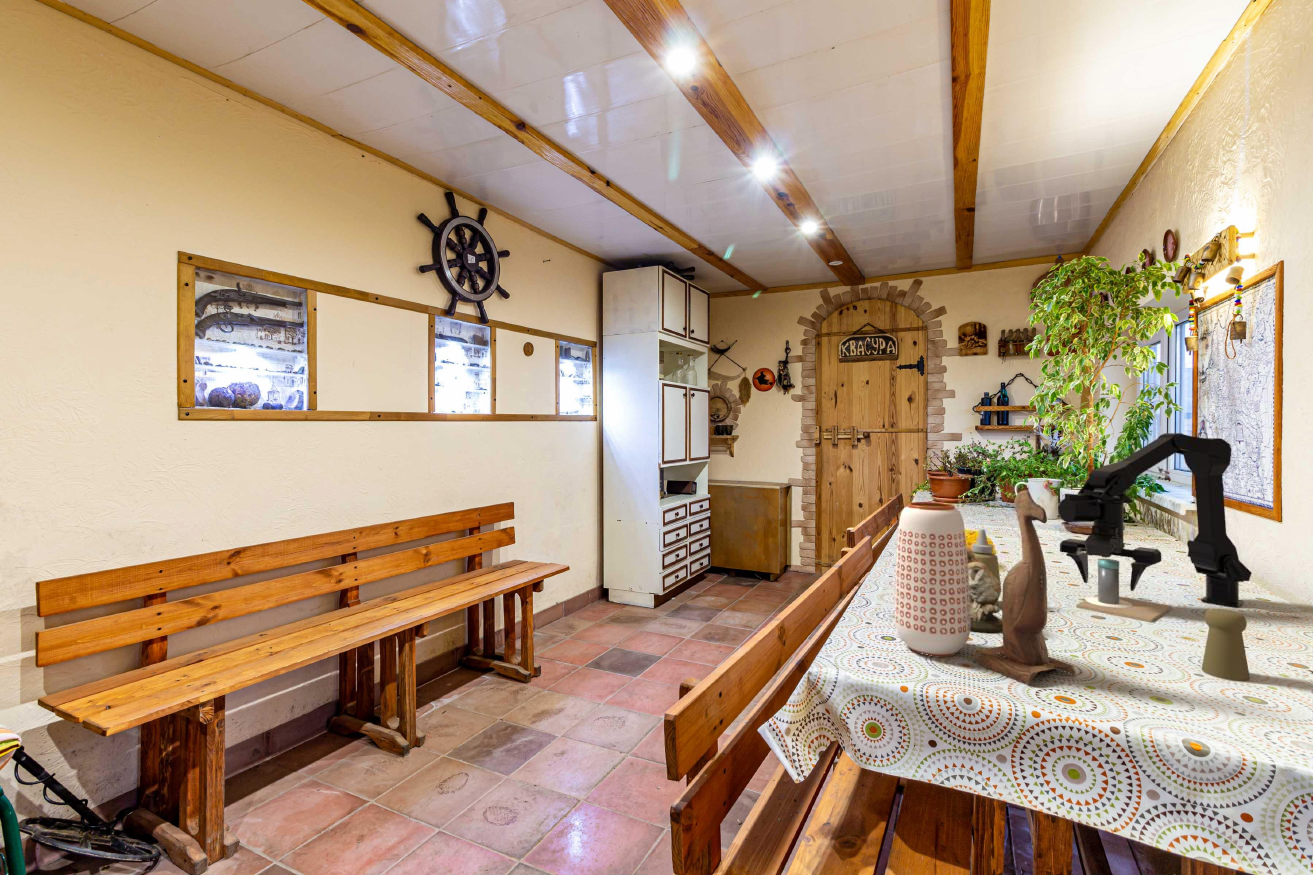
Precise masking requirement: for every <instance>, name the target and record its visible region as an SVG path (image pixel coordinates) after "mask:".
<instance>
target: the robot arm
mask: <svg viewBox="0 0 1313 875" xmlns="http://www.w3.org/2000/svg"><path fill="white" fill-rule="evenodd" d="M1231 447H1232V446H1231V444H1230V443H1229V442H1228V441H1226V440H1225V439H1223V438H1218V437H1215V438H1213V437H1210V438H1209V437H1208V438H1207V437H1198V436H1192V435H1187V434H1184V433H1178V432H1175V433H1173V432H1172V433H1171V432H1170V433H1168V432H1167V433H1162V434H1160V435H1159V436H1158V437H1157V438H1156V439H1154V440H1153V441H1151V442H1149V443H1148V444H1145V446H1143V447H1142V448H1140V449H1138V450H1136V451H1135V452H1134V453H1132V454H1130V455H1128V456H1127V457H1125V458H1123V459H1121V460H1119V461H1117V462H1115V463H1113V462H1112V463H1110V464H1106V465H1103V466H1100V467H1098V468H1095V469H1093V470H1092V471H1091V472H1089V474H1088V478H1087V480H1086V481H1085V483H1084V484H1083V486H1082V487H1081V488H1080V489H1079V491H1078V492H1077V493H1075V494H1074V493H1064V498H1063V499H1062V500H1061V501H1060V503H1059V505H1058V507H1057V509H1058V510H1057V511H1058V515H1059V518H1061V520H1062V521H1063V522H1065V523H1093V525H1091V532H1090V534H1089V535H1088V537H1087V538H1086V539H1085V540H1084V539H1078V538H1077V539H1076V538H1067V539H1064V540H1061V541H1060V543H1059V552H1060V553H1065V555H1066V557H1070V558H1071V559H1072V560H1073V561H1074V563H1075V565H1076V567H1077V568H1078V571H1079V574H1080V575H1081V578H1082V581H1083V583H1084V584H1087V583H1088V581H1089V556H1095V557H1096V556H1098V557H1101V558H1104V559H1108V558H1110V557H1112V556H1117V557H1122V558H1123V557H1124V558H1132V560H1134V561H1132V562H1131V563H1130V566H1131V576H1130V586H1129V587H1130V588H1129V589H1130V591H1131V592H1134V591H1135V590H1136V587H1137V585H1138V583H1139V581H1140V578H1141V577H1142V575H1143V573H1144V571H1146V569H1147V568H1149V567H1151V566H1153V565H1157V564H1158V563H1162V552H1161V551H1160V550H1159V549H1158V548H1150V547H1142V546H1139V547H1136V548H1134V549H1129V548H1126V544H1125V542H1124V531H1125V530H1126V527H1125V525H1124V504H1132V503H1133V501H1134V500H1133V499H1132V498H1130V497H1128V496H1127V495H1126V492H1127V491H1128V490H1129V489H1130V488H1131V487H1133V485H1135V483H1136V481H1137V479H1138V477H1139V476H1140V475H1142V474H1143V473H1146V471H1148V470H1150V469H1152V468H1153V467H1155V466H1156V465H1158V464H1159V463H1161V462H1163V461H1165V460H1166V459H1168V458H1169V457H1171V456H1173V455H1174V454H1178V455H1183V460H1184V463H1185V465H1186V466H1187V467H1188V469H1189V470H1190V472H1192V474H1193V477H1194V490H1195V491H1194V492H1195V504H1196V518H1197V519H1196V520H1197V531H1198V532H1197V535H1196V536H1195V537H1194V539H1193V540H1191V539H1188V540H1187V543H1186V544H1187V549H1188V552H1187V556H1186V557H1188V558H1189V559H1190V562H1191V563H1192V564H1193V566H1194V569H1195V572H1196V573H1197V574H1201V575H1205V596H1204V597H1202V598H1201V599H1200V601H1201V602H1203V603H1204V602H1205V603H1210V604H1216V605H1222V606H1227V607H1233V608H1239V607H1240V606H1241V605H1242V604H1244V600H1240V592H1239V591H1240V590H1239V588H1240V585H1239V584H1240V583H1244V582H1249V581H1250V579H1251V577H1252V571H1251V570H1249V568H1248V567H1247V566H1245V565H1244V564H1243V562H1242V561H1240V560H1239V559H1240V558H1239V555H1238V550H1237V547H1236V545H1235V544H1234V543H1233V541H1232V540H1231V539H1230V538H1229V536H1228V535H1227V528H1226V527H1227V523H1226V510H1225V509H1226V508H1225V495H1224V481H1223V475H1224V473H1225V472H1226V471H1227V469H1228V468H1229V466H1230V465H1231V458H1232V448H1231Z"/></svg>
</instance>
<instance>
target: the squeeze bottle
mask: <svg viewBox="0 0 1313 875" xmlns="http://www.w3.org/2000/svg"><path fill="white" fill-rule="evenodd" d="M971 550H972V551H973V553H974V556H975V558H976V559H978V560H979V561H980V562H981V563H983V564H985V565H986V566H987V567H988V569H989V571H990V572H991V573H992V574H993V576H994V577H996V578H997V579H998V581H999V582H1000V584H999V586H1000V594H999V596H998V599H997V601H996V603H995V604H994V605H996V606H997V604H998V602H999V598H1000V597H1001V595H1002V594H1001V593H1002V586H1001V584H1002V583H1001V575H1000V567H999V558H998V556H997V555H996V554H995V553H994V545H993V544H989V541H988V538H987V533H986V529H979V530H978V535H977V539H976V542H975V543H974V542H973V543H972V544H971Z"/></svg>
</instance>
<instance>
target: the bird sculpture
mask: <svg viewBox="0 0 1313 875" xmlns="http://www.w3.org/2000/svg"><path fill="white" fill-rule="evenodd" d="M1013 507H1014V509H1015V512H1016V517H1017V521H1018V525H1019V531H1020V537H1021V553H1022V554H1021V555H1022V559H1021V560H1019V561H1018V562H1017V563H1015V565H1013V566H1012V567H1011V568H1010V570H1008V573H1007V574H1006V576H1005V577H1004V580H1003V583H1002V596H1001V597H1002V599H1001V600H1002V602H1001V619H1002V620H1001V621H1002V624H1003V631H1002V645H1001V646H993V647H988V648H983V649H977V650H975V651H974V653H973V654H972V655H973V656H972V657H973V658H974V659H973V664H975V663H977V665H978V664H979V665H982V666H983V667H985V668H986V669H991V670H992V671H993V670H994V671H993V672H996V673H998V674H1001V675H1003V676H1005V677H1008V678H1010V679H1012V680H1015V681H1018V682H1020V683H1023V684H1026V685H1027V686H1029V685H1030V683H1031V681H1032V680H1033V679H1034V677H1035V676H1036V675H1037V674H1038V673H1039V672H1041V671H1043V672H1045V671H1049V670H1053V669H1057V670H1059V671H1060V672H1065V673H1066V674H1069V675H1072V676H1075V677H1076V676H1077V671H1076V670H1077V669H1076V667H1075V666H1074V665H1073V664H1070V663H1067V662H1065V661H1061V660H1058V659H1055V658H1053V657H1050V656H1049V651H1048V647H1047V643H1046V639H1045V637H1044V634H1043V630H1044V629H1045V628H1046V625H1047V622H1048V588H1047V587H1048V583H1047V582H1048V581H1047V580H1048V579H1047V567H1046V562H1045V561H1046V560H1045V558H1044V557H1045V556H1044V553H1043V549H1042V546H1041V542H1040V539H1039V536H1038V534H1037V530H1036V529H1037V528H1036V527H1035V526H1034V523H1033V522H1035V521H1038V522H1040V523H1042V524H1047V522H1048V517H1047V512H1046V510H1045V508H1044V507H1042V506H1041V505H1040V504H1038V503H1036V502H1035V500H1034V499H1033V496H1032V495H1031V493H1030V491H1029V490H1025V489H1024V490H1022V491H1019V492H1018V494H1016V496H1015V499H1014V502H1013Z"/></svg>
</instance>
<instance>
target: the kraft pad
mask: <svg viewBox="0 0 1313 875" xmlns="http://www.w3.org/2000/svg"><path fill="white" fill-rule="evenodd" d="M1075 606H1076V608H1078V609H1083V610H1088V611H1093V612H1097V613H1098V612H1099V613H1104V614H1107V615H1113V616H1118V617H1122V618H1129V619H1134V620H1139V621H1143V622H1144V621H1145V622H1147V623H1152V622H1153V621H1155V620H1157V619H1158V618H1160V617H1162V616H1163V615H1164V614H1166V613H1167V612H1168V611H1170V610H1172V609H1173V605H1168V604H1163V603H1157V602H1152V601H1146V600H1141V599H1136V598H1135V599H1134V598H1129V597H1124V596H1120V595H1119V604H1115V605H1114V604H1105V603H1101V602H1099V601H1098V594H1096V595H1093V596H1088V597H1085V600H1083V601H1080V603H1077V604H1076V605H1075Z"/></svg>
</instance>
